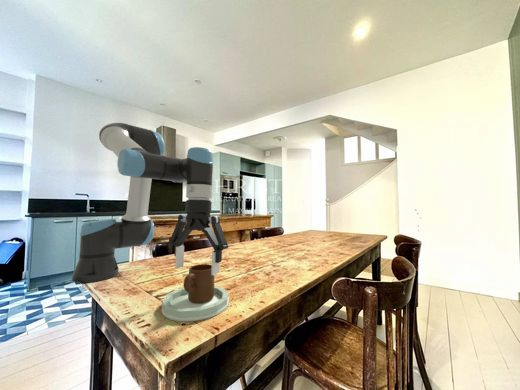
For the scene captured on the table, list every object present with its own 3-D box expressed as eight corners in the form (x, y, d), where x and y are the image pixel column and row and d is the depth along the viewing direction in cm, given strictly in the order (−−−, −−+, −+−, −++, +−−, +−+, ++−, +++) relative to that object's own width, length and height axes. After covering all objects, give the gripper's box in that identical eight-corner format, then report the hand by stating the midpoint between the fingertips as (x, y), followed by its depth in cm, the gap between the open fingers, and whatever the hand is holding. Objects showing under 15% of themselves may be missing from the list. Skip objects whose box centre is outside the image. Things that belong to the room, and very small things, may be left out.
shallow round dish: (145, 312, 58) (146, 303, 58) (193, 288, 75) (193, 281, 75) (201, 328, 50) (201, 317, 50) (240, 298, 67) (240, 290, 67)
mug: (196, 313, 56) (197, 276, 56) (172, 309, 58) (173, 273, 58) (218, 295, 67) (218, 265, 68) (197, 292, 69) (198, 263, 70)
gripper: (159, 198, 66) (156, 267, 65) (226, 199, 56) (224, 281, 55) (177, 199, 73) (175, 262, 72) (240, 200, 63) (239, 273, 62)
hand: (196, 270), depth 63 cm, fingers open, 13 cm apart
